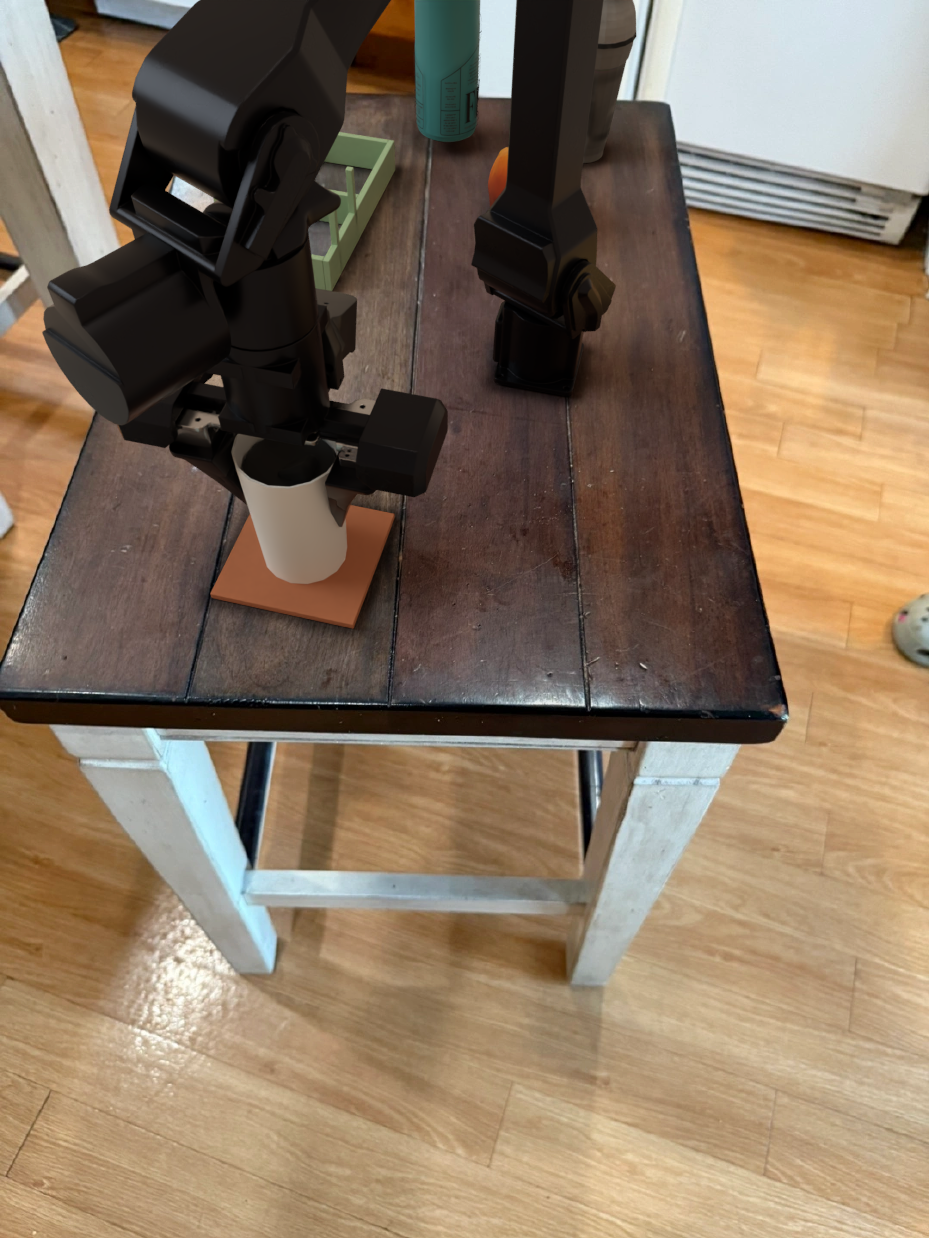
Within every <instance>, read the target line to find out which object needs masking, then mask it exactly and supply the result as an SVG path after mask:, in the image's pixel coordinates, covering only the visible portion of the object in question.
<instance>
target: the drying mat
mask: <svg viewBox="0 0 929 1238" xmlns="http://www.w3.org/2000/svg"><path fill="white" fill-rule="evenodd" d="M395 519H396V518H395V513H392V512H387V511H383V510H378V509H374V508H367V507H362V506H358V505H354V504H353V505H352V504H351V505H350V508H349V510H348V513H347V516H346V534H347V551H346V558H345V561H344V562H343V563H342V565H341V566H340V568H339V569H338V571H337V572H335V573H334V574H332V575H331V576H329V577H327V578H326V579H324V580H321V581H318V582H314V583H310V584H298V583H290V582H287V581H285V580H282V579H280V578H278V577H276V576H275V575H274V574H273V573H272V572H271V571H270V570H269V569H268V568H267V565H266V562H265V559H264V556H263V553H262V549H261V546H260V543H259V540H258V537H257V534H256V530H255V527H254V524H253V521H252V518H251V515H250V513H249V515H248V516H247V518H246V521H245V523H244V525H243V526H242V529H241V531H240V533H239V535H238V537H237V538H236V541H235V542H234V544H233V547H232V549H231V551H230V553H229V555H228V557H227V559H226V561H225V563H224V566H223V567H222V569H221V571H220V573H219V575H218V577H217V580H216V582H215V583H214V586H213V587H212V589H211V591H210V598H211V599H215V600H219V601H224V602H229V603H234V604H237V605H243V606H247V607H252V608H257V609H261V610H265V611H270V612H274V613H279V614H284V615H287V616H288V615H289V616H293V617H298V618H302V619H305V620H306V619H307V620H312V621H315V622H321V623H325V624H330V625H334V626H339V627H342V628H343V627H344V628H348V629H353V630H354V628H355V626H356V623H357V621H358V619H359V614H360V612H361V610H362V607H363V604H364V602H365V598H366V597H367V594H368V592H369V588H370V585H371V583H372V580H373V577H374V575H375V572H376V570H377V567H378V564H379V561H380V559H381V557H382V553H383V550H384V548H385V545H386V543H387V540H388V537H389V534H390V532H391V529H392V526H393V525H394V524H393V523H394V521H395Z"/></svg>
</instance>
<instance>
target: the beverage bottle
mask: <svg viewBox="0 0 929 1238" xmlns="http://www.w3.org/2000/svg"><path fill="white" fill-rule="evenodd" d="M413 2H414V37H413V38H414V41H413V42H412V44H414V51H413V52H412V53H413V54H414V56H413V59H414V65H413V68H414V76H413V79H414V85H413V86H414V87H413V88H414V91H415V97H414V106H415V109H414V114H415V123H416V126H417V129H418V131H419V132H420V134H421V135H423V136H424V137H426V138H428V139H430V140H433V141H437V142H444V143H451V142H452V143H453V142H460V141H462V140H466V139H468V138H470V137H472V136H473V134H474V133H475V131H476V128H477V126H478V121H479V118H478V117H479V113H480V112H479V111H480V110H479V101H480V97H479V96H480V82H481V81H480V80H481V79H480V76H481V70H480V63H481V62H482V61H481V54H480V41H481V37H482V36H481V34H482V27H481V23H482V22H483V21H482V19H481V17H482V15H481V0H414V1H413Z"/></svg>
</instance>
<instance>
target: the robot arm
mask: <svg viewBox="0 0 929 1238" xmlns="http://www.w3.org/2000/svg"><path fill="white" fill-rule="evenodd" d="M391 1H392V0H198V1H196V2H195V3H194V4H193V5H192V6H191V7H190V8H189V9H188V10H187V12H185V13H184V15H182V17H181V18H179V20H178V21H177V22H176V23H175V24H174V25H173V26H172V27H170V29H169V30H168V31H167V32H166V33H165V34H164V36H163V37H162V38H161V39H159V41H158V42H157V43H156V44H155V45H154V46H153V47H152V48H151V50H150V51H149V52H148V53H147V55H146V56H145V57H144V59H143V61H142V63H141V65H140V68H139V69H138V72H137V73H136V76H135V78H134V82H133V86H132V91H131V98H132V100H133V102H134V103H135V107H134V110H133V114H132V118H131V122H130V126H129V130H128V134H127V137H126V141H125V145H124V149H123V153H122V157H121V161H120V163H119V164H120V165H119V168H118V173H117V177H116V181H115V184H114V188H113V192H112V196H111V200H110V204H109V208H108V212H109V215H110V216H111V218H113V219H115V220H116V221H117V222H119V223H120V224H123V225H124V226H126V227H127V228H129V229H130V230H131V231H132V235H133V240H131V241H129V242H127V243H126V244H123V245H122V246H120V247H118V248H117V249H115V250H112V251H110V252H109V253H107V254H105V255H103V256H102V257H100V258H98V259H97V260H95V261H93V262H90V263H89V264H86V265H82V266H78V267H74V268H71V269H69V270H67V271H65V272H63V273H61V274H60V275H57V276H56V277H54V278H52V279H50V280H49V281H48V283H47V287H46V288H47V292H48V293H49V296H50V299H51V302H52V304H51V305H49V306H48V307H46V308H45V309H44V311H43V325H44V330H42V331H41V334H42V335H43V338H44V340H45V341H44V342H45V344H46V346H47V348H48V350H49V352H50V354H51V355H52V357H53V359H54V361H55V362H56V364H57V366H58V367H59V369H60V370H61V372H62V373H63V375H64V377H66V379H67V381H68V382H69V383H70V384H71V386H72V387H73V388H74V389H75V391H76V392H77V393H78V394H79V395H80V397H81V398H82V399H83V400H84V401H85V402H86V403H87V404H88V405H89V406H90V407H91V408H92V409H93V410H94V411H95V412H96V413H98V415H100V416H101V417H102V418H104V419H105V420H106V421H109V422H110V423H112V424H113V425H116V426H117V429H118V432H119V433H120V435H121V437H122V439H123V440H124V441H126V442H132V443H137V444H142V445H147V446H152V447H158V448H162V449H166V448H167V447H168V450H169V452H170V454H171V455H172V456H173V457H174V458H176V459H181V460H184V461H185V462H187V463H189V464H190V465H191V466H192V467H195V468H196V469H197V470H199V471H200V472H202V473H203V474H205V475H207V476H208V477H209V478H211V479H212V480H214V481H215V482H216V483H218V484H219V485H220V486H221V487H223V488H224V489H225V490H227V491H228V492H230V494H232V495H233V496H234V497H236V498H237V499H238V500H240V501H241V502H242V503H243V504H244V505H246V506H247V507H248V505H247V502H246V499H245V496H244V492H243V489H242V486H241V483H240V480H239V477H238V473H237V470H236V467H235V464H234V460H233V457H232V453H231V451H232V447H233V444H234V440H235V437H236V436H237V434H242V435H247V436H252V437H258V438H263V439H268V440H273V441H278V442H283V443H288V444H293V445H299V446H304V444H306V445H311V446H315V445H317V444H318V442H319V440H320V439H324V440H329V441H335V442H336V443H335V444H336V451H337V452H338V454H337V456H336V459H335V461H334V463H333V465H332V468H331V470H330V472H329V474H328V477H327V479H326V481H325V487H326V492H327V497H328V502H329V506H330V511H331V514H332V516H333V517H334V519H335V521H336V523H337V524H338V526H339V527H342V526H343V523H344V521H345V519H346V516H347V513H348V510H349V508H350V505H352V502H353V501H354V500H355V498H356V497H357V496H358V495H362V496H370V495H373V494H374V493H376V491H379V492H384V493H389V494H394V495H398V496H399V495H400V496H404V497H409V498H416V497H419V496H421V495H423V494H425V493H427V491H428V488H429V486H430V482H431V479H432V477H433V474H434V470H435V469H436V465H437V463H438V459H439V456H440V454H441V451H442V448H443V446H444V442H445V439H446V436H447V434H448V430H449V428H448V426H449V425H448V424H449V410H448V409H447V407H446V406H445V403H443V401H442V399H440V398H436V397H430V396H427V395H425V396H424V395H419V394H414V393H409V392H403V391H399V390H393V389H387V388H380V389H379V393H378V395H377V397H376V400H374V399H369V398H358V399H355V400H354V401H352V402H351V403H345V402H340V401H335V400H330V390H335V391H339V390H340V387H341V386H342V383H343V381H344V380H345V367H344V359H346V357H348V355H349V354H350V353H351V354H352V353H354V352H355V351H356V349H357V347H356V344H357V343H356V342H357V318H358V317H357V316H358V298H357V297H356V296H355V295H353V294H350V293H349V294H348V293H344V292H339V291H334V290H332V291H328V290H322V289H316V288H315V280H314V272H313V264H312V256H311V254H312V249H311V241H310V233H309V229H310V228H311V226H313V225H314V224H316V223H317V222H319V220H321V219H322V218H324V217H326V216H327V215H329V214H330V213H332V212H334V211H335V210H337V209H338V208H339V207H340V204H341V198H340V196H339V195H338V194H336V193H334V192H332V191H330V190H331V189H330V190H329V189H328V188H327V187H325V186H323V185H322V184H320V183H319V182H318V181H316V178H317V176H318V174H319V172H320V171H321V169H322V167H323V165H324V163H325V162H324V161H325V159H326V157H327V155H328V153H329V151H330V149H331V147H332V145H333V144H334V142H335V140H336V138H337V136H338V134H339V132H341V130H342V128H343V126H344V123H345V115H346V100H347V87H348V86H347V85H348V73H349V69H350V67H351V66H352V64H353V61H354V59H355V57H356V55H357V53H358V52H359V50H360V47H361V46H362V44H363V43H364V42H365V40H366V38H368V35H369V34H370V33H371V31H372V29H373V28H374V26H375V25H376V23H377V22H378V20H379V19H380V18H381V16H382V15H383V13H384V12H385V10H386V8H387V7H388V6H389V4H390V3H391ZM602 8H603V0H515V17H514V18H515V19H514V36H513V52H512V53H513V54H512V55H513V56H512V74H511V89H510V90H511V91H510V93H511V94H510V111H509V126H508V127H509V129H508V146H507V147H508V163H507V180H506V186H505V189H504V190H503V191H502V192H501V194H500V195H499V196H498V198H497V199H496V200H495V202H494V203H493V204H492V205H491V207H490V206H489V208H488V210H486V212H485V213H482V214H481V215H479V216H478V217H477V218H476V219H475V221H474V223H473V231H474V249H473V255H472V256H473V257H472V260H471V263H470V265H471V266H472V267H474V268H476V271H477V276H478V279H479V280H480V281H482V282H483V284H484V285H483V286H484V288H485V292H486V293H487V294H489V295H491V296H495V297H497V298H498V299H501V300H503V301H501V303H500V306H499V309H498V312H497V314H496V317H495V321H494V335H493V348H492V349H493V350H492V360H493V362H494V363H497V365H496V368H495V371H494V374H493V382H494V383H496V384H497V385H503V386H508V387H512V388H513V387H514V388H519V389H524V390H530V391H535V392H539V393H540V392H541V393H546V394H552V395H556V396H562V397H570V396H572V394H573V392H574V389H575V384H576V380H577V376H578V372H579V370H580V369H579V368H580V364H581V361H582V357H583V352H584V349H585V348H584V347H585V344H584V343H583V339H584V333H587V332H596V331H598V329H600V328H601V323H602V319H603V315H604V314H606V313H607V312H608V310H609V308H610V305H611V304H612V301H613V296H614V293H615V291H616V289H617V285H616V283H615V282H614V281H612V280H611V279H610V277H608V276H607V275H606V274H605V273H604V272H603V271H602V270H601V269H600V268H599V267H597V259H598V258H597V257H598V233H599V231H598V225H597V223H596V221H595V219H594V215H593V214H592V211H591V208H590V206H589V203H588V202H587V199H586V197H585V194H584V192H583V189H582V176H583V168H584V167H583V166H584V163H583V160H584V152H585V144H586V136H587V128H588V120H589V112H590V104H591V96H592V88H593V80H594V72H595V64H596V56H597V48H598V40H599V32H600V24H601V16H602ZM174 176H175V177H177V178H178V179H180V180H181V181H183V182H185V183H187V184H188V185H190V186H192V187H193V188H195V189H197V190H199V191H200V192H202V193H204V194H206V195H208V196H210V197H211V198H212V199H213V198H215V199H216V200H217V201H215V202H214V201H213V202H212V203H210V204H208V205H207V206H206V207H205V208H204V209H203V211H201V210H200V209H197V208H196V207H195V206H193V205H191V204H190V203H188V202H186V201H184V200H182V199H181V198H179V197H177V196H176V195H174V194H172V193H170V192H169V191H167V190H166V189H167V188H168V187H169V185H170V183H171V181H172V179H173V178H174ZM214 375H215V376H220V378H221V383H222V386H219V385H215V384H209V383H207V382H208V381H209V380H211V379H212V378H213V376H214ZM244 460H245V459H244Z"/></svg>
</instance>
